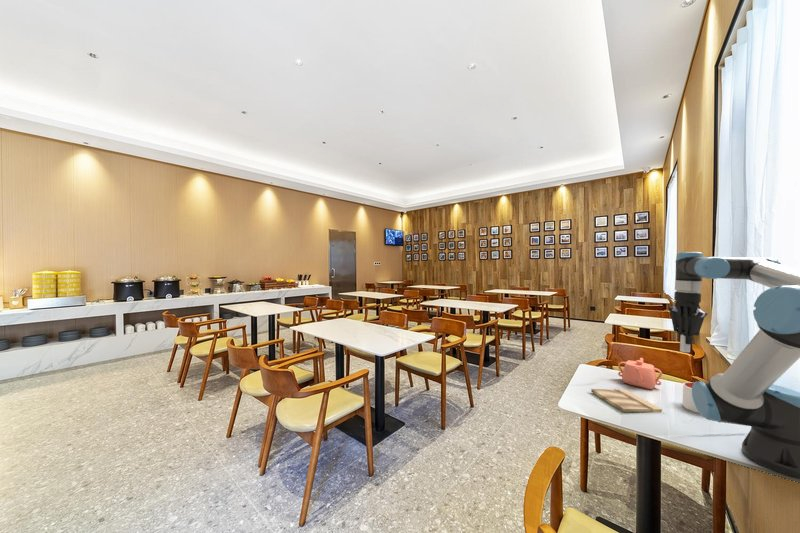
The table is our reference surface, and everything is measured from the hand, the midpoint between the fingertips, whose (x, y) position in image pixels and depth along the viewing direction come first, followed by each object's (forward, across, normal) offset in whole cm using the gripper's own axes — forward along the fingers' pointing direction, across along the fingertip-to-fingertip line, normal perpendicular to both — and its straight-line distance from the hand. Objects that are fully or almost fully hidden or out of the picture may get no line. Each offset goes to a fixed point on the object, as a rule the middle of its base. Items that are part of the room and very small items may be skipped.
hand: (684, 351), depth 119 cm
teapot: (+27, +29, -9) cm, 41 cm away
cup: (+27, +5, -13) cm, 30 cm away
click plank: (+25, +12, +16) cm, 32 cm away
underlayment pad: (+26, +12, +14) cm, 32 cm away
